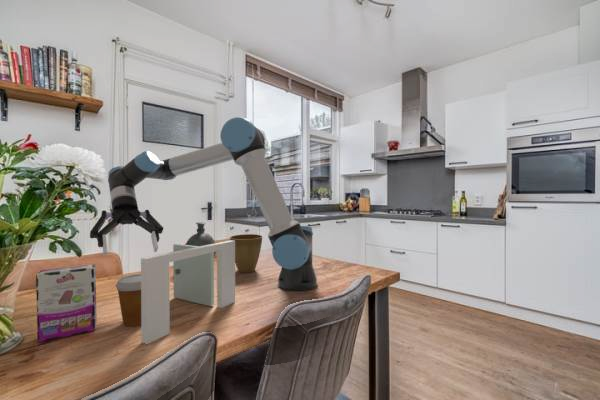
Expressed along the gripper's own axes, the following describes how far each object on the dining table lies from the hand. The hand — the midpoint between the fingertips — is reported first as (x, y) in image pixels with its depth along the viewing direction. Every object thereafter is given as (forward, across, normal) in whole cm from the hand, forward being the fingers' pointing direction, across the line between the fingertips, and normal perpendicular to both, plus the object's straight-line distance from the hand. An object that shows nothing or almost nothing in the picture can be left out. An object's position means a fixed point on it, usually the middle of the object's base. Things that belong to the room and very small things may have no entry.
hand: (132, 252), depth 86 cm
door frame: (+27, -12, +3) cm, 30 cm away
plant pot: (+2, -48, -22) cm, 53 cm away
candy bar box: (+18, +15, -7) cm, 25 cm away
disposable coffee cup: (+21, +1, -4) cm, 21 cm away
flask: (-11, -34, -35) cm, 50 cm away
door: (+17, -16, -6) cm, 24 cm away
